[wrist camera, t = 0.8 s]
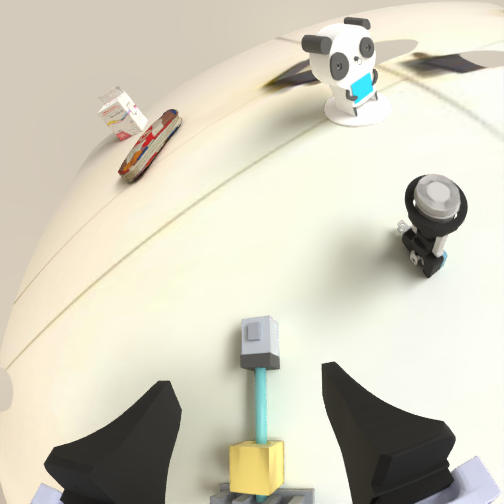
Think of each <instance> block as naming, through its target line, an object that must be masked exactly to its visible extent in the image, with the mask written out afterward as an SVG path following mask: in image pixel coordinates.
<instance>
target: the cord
mask: <svg viewBox="0 0 504 504" xmlns="http://www.w3.org/2000/svg"><path fill="white" fill-rule="evenodd" d="M255 430H256V444H267V409H266V368H255ZM266 499H267V495H256V501H257V502H264V501H265V500H266Z"/></svg>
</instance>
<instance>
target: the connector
mask: <svg viewBox="0 0 504 504" xmlns="http://www.w3.org/2000/svg"><path fill="white" fill-rule="evenodd" d="M268 352H270V353H272V354H274V355H276V356H278V357H279V334H278V322H276V321H275V320H274V319H273V318H272V317H271V316H264V317H256V318H248V319H242V355H243V354H256V353H268Z"/></svg>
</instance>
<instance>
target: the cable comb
mask: <svg viewBox="0 0 504 504" xmlns="http://www.w3.org/2000/svg"><path fill="white" fill-rule="evenodd" d="M220 486H221V492H220V493H217V494H215V495H213V496H211V497H210V504H314V489H276V490H275V491H274V492H273V493H272V494H270V495H269V496H268V495H267V499H266V500H265V501H264V502H257V501H256V494H247V493H238V492H231V491H230V484H226V483H224V484H221V485H220Z"/></svg>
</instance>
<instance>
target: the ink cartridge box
mask: <svg viewBox="0 0 504 504" xmlns="http://www.w3.org/2000/svg"><path fill="white" fill-rule="evenodd" d="M112 92H115V93H114V94H112V95H111V96H109V97H108V96H107V95H109V93H112ZM99 98H100V99H101V100H102V101H103V102H104V103H105V105H104V106H103V107H102V108H101V110H100V111H99V112H98V114H99V116H100V117H101V118H102V119H103V120H104V121H105V122H106V124H107V125H108V126H109V127H110V128H111V129H112V131H113V132H114V133H115V134H116V135H117V136H118V137H119V139H120V140H121V141H122V140H124V139H126V138H128V137H130V136H132V135H135V134H137V133H139V132H141V131H143V129H144V127H145V125H146V123H147V122H148V120H147V119H146V118H145V117H144V115H143V114H142V113H141V111H140V110H139V109H138V108H137V106H136V105H135V104H134V103H133V101H132V100H131V99H130V97H129V96H128V95H127V94H126V92H124V91H123V90H122V88H121V87H120V86H119V85H116V86H115V87H113V88H111V89H110V90H108V91H107V92H105V93H104V94H102V95H101V96H100V97H99Z"/></svg>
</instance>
